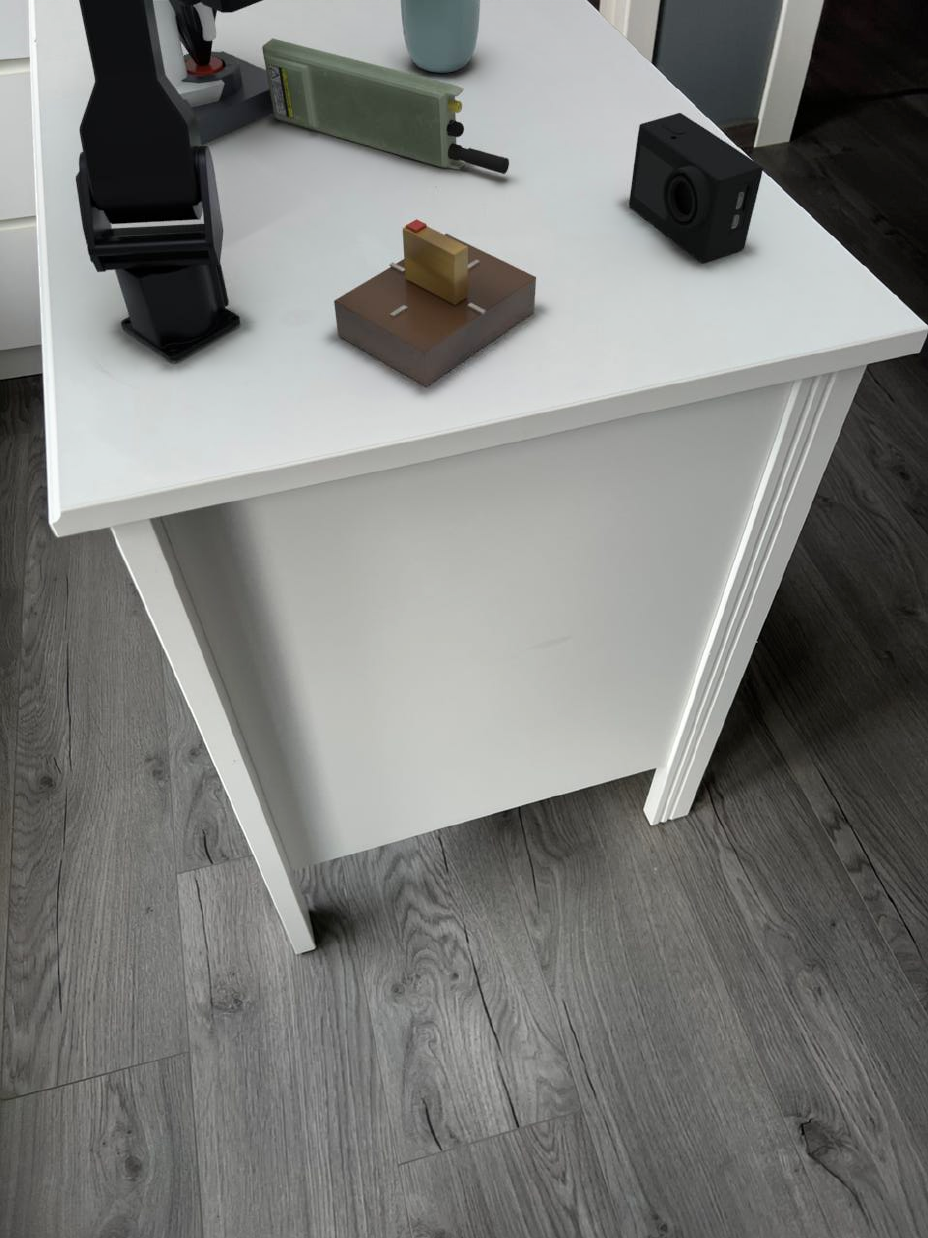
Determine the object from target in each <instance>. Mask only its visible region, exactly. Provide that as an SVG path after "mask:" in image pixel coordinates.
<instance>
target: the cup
mask: <svg viewBox="0 0 928 1238" xmlns="http://www.w3.org/2000/svg"><path fill="white" fill-rule="evenodd" d="M400 11H401V12H400V13H401V23H402V30H403V37H404V42H405V46H406V47H405V48H406V50H407V53H408V55H409V57H410V59H411V60H412V62H413V63H414V64H415V65H416V66H417V67H418V68H420V69H422V70H423V71H427V72H431V73H437V74H442V73H443V74H446V73H453V72H456V71H458V70H461V69H462V68H464V67H465V66H466V65H467V64H468V63H469V61H470V60H471V58H472V57H473V55H474V52H475V50H476V46H477V41H478V36H479V27H480V17H481V15H480V13H481V0H400Z"/></svg>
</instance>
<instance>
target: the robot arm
mask: <svg viewBox="0 0 928 1238" xmlns="http://www.w3.org/2000/svg"><path fill="white" fill-rule="evenodd" d="M262 1H264V0H169V2H170V3H171V5H172V7H173V9H174V12H175V15H176V16H175V18H176V23H177V28H178V33H179V37H180V42H181V45H182V46H183V47H184V49H185V50H186V52H187V54H189V55H190V56H191V58H192V59H193V61H194V62H195V63H196V64H197V65H199V66H205V65H207V64H209V63H210V58H211V51H212V50H213V42H214V40H212V41H206V40H204V39H203V27H202V23H201V19H200V16H199V13H198V11H197V10H196V8H195V7H194V6H193V5H195V4H198V3H201V2H202V4H203V5H205V6H207V7H210V8H212V12H213V17H214V21H215V22H216V18H217V14H218V12H220V13H222V14H226V13H227V14H229V13H231V14H232V13H234V12H237V11H240V10H242V9H245V8H247V7H250V6H252V5H255V4H257V3H260V2H262ZM78 3H79V8H80V12H81V13H80V14H81V18H82V22H83V27H84V32H85V37H86V43H87V47H88V51H89V55H90V61H91V67H92V72H93V78H94V83H93V86H92V89H91V92H90V95H89V99H88V101H87V104H86V107H85V110H84V114H83V116H82V119H81V122H80V125H79V136H80V137H79V138H80V142H81V143H80V144H81V148H82V151H81V152H80V154H79V157H78V172H77V173H76V175H75V183H76V190H77V191H76V192H77V198H78V204H79V205H78V206H79V211H80V218H81V224H82V231H83V235H84V239H85V242H86V247H87V253H88V257H89V260H90V262H91V263H92V264H93V267H94V268H95V270H96V272H97V273H106V271H114V273H115V275H116V278H117V282H118V284H119V288H120V290H121V295H122V298H123V301H124V304H125V308H126V311H127V314H128V316H127V317H126V318H124V319H122V320H120V321H121V322H120V326H121V329H122V330H123V331H125V332H126V333H127V334H129V335H130V336H132V337H133V338H135V339H136V340H138V341H139V342H141V343H143V344H144V345H146V346H147V347H148V348H150V349H151V350H153V351H155V353H157V354H159V355H161V356H162V357H164V358H165V359H167V360H168V361H170V362H178V361H180V360H182V359H184V358H185V357H187V356H190V355H191V354H192V353H194V352H196V351H198V350H199V349H201V348H202V347H204V346H206V345H208V344H210V343H211V342H213V341H214V340H216V339H218V338H220V337H222V336H224V335H225V334H227V333H228V332H230V331H233V330H234V329H235V328H237V327H239V326H240V325H241V318H240V316H239V314H236V313H235V312H233V311H232V310H229V308H226V307H228V306H229V304H230V300H229V294H228V291H227V286H226V281H225V277H224V271H223V267H222V263H221V259H222V250H223V241H224V225H223V217H222V212H221V203H220V199H219V198H220V197H219V192H218V186H217V179H216V173H215V166H214V161H213V160H214V159H213V156H212V153H211V150H210V147H209V146H208V145H201V139H200V134H199V128H198V123H197V119H196V115H195V112H194V111H193V109H192V107H191V106H190V104H189V103H188V101H187V100H186V99H184V100H183V98H182V97H181V96H180V94H179V93H178V91H177V90H176V89H175V87H174V86H173V85H172V83H171V82H170V81H169V79H168V78H167V76H166V74H165V69H164V64H163V58H162V52H161V46H160V41H159V35H158V29H157V23H156V17H155V11H154V5H153V0H78ZM202 217H203V223H189V224H188V223H187V224H171V225H169V224H168V225H153V226H150V225H149V226H132V227H115V228H114V227H113V228H112V225H123V224H124V225H125V224H141V223H143V224H144V223H160V222H180V221H199V220H201V219H202Z"/></svg>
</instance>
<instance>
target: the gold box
mask: <svg viewBox="0 0 928 1238" xmlns="http://www.w3.org/2000/svg"><path fill="white" fill-rule="evenodd" d="M402 241H403V259H404V262H405V278H406V279H407V280H409V281H411V282H413V283H414V284H416V285H418V286H420V287H422V288H424V289H426V290H427V291H429V292H431V293H433V294H435V295H437V296H439V297H440V298H442V299H444V300H446V301H448V302H450V303H452V304H453V305H456V304H458V303H459V302H461V301H462V300H464V299H466V298H467V297H468V247H467V246H465V245H463V244H461V243H459V242H457V241H455V240H453V239H452V238H450V237H448V236H446V235H445V234H444V233H441V232H440V231H438V230H436V229H433V228H432V227H430V226H427V223H425V222H423V221H421V220H419V219H418V218H416V219H415V220H412V221H411V222H409V223H407V224H406V225H405V226H404V227H403V228H402Z"/></svg>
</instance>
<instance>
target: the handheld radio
mask: <svg viewBox="0 0 928 1238" xmlns="http://www.w3.org/2000/svg"><path fill="white" fill-rule="evenodd" d="M261 49H262V55H263V59H264V66H265V70H266V72H267V78H268V84H269V89H270V95H271V101H272V106H273V117H274V118H275V119H276V120H278V121H282V122H284V123H288V124H291V125H295V126H297V127H301V128H304V129H308V130H312V131H315V132H318V133H321V134H326V135H329V136H332V137H336V138H339V139H341V140H342V139H343V140H346V141H349V142H352V143H357V144H360V145H363V146H367V147H370V148H374V149H377V150H381V151H383V152H388V153H391V154H394V155H397V156H401V157H405V158H407V159H408V158H409V159H411V160H415V161H418V162H422V163H425V164H427V165H428V164H429V165H431V166H434V167H439V168H448V169H452V170H453V169H454V170H460V169H461V168H463V167H464V166H466V164H470V165H472V166H476V167H479V168H482V169H485V170H489V171H493V172H495V173H498V174H502V175H506V173H508V171H509V167H510V160H509V158H507V157H503V156H500V155H497V154H494V153H489V152H486V151H482V150H479V149H474V148H472V147H468V148H466V147H463V146H462V145H461V144H457V138H460V137H461V136H463V134H464V131H465V126H464V124H463V123H462V122H460V121H458V120H457V119H456V114H459V113H461V112H462V110H463V103H462V101H461V100H456V97H459V95H461V93H462V92H463V91H464V90H465V89H464V88H463V87H461V86H458V85H455V84H451V83H448V82H444V81H440V80H436V79H432V78H429V77H425V76H420V75H416V74H412V73H409V72H405V71H401V70H398V69H394V68H389V67H385V66H382V65H377V64H374V63H370V62H366V61H363V60H358V59H354V58H351V57H346V56H342V55H339V54H336V53H331V52H327V51H323V50H319V49H315V48H311V47H308V46H304V45H300V44H296V43H292V42H289V41H284V40H280V39H277V38H273V37H272V38H271V39H269V40H268V41H267V42H266V43H265V44H263V45H262V46H261Z"/></svg>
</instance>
